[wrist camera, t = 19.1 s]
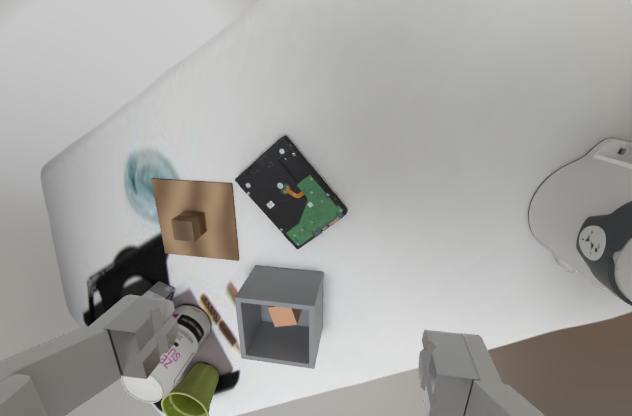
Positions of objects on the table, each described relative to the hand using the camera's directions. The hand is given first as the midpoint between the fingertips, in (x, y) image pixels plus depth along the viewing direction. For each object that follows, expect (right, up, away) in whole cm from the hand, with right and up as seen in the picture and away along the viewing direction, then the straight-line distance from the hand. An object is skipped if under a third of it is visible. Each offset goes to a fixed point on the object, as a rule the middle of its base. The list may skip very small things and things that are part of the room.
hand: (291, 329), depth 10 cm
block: (-4, -13, +45) cm, 47 cm away
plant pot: (-23, -31, +57) cm, 69 cm away
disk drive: (-3, +6, +39) cm, 40 cm away
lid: (-19, +2, +44) cm, 48 cm away
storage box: (-4, -12, +46) cm, 47 cm away
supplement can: (-24, -18, +52) cm, 60 cm away
